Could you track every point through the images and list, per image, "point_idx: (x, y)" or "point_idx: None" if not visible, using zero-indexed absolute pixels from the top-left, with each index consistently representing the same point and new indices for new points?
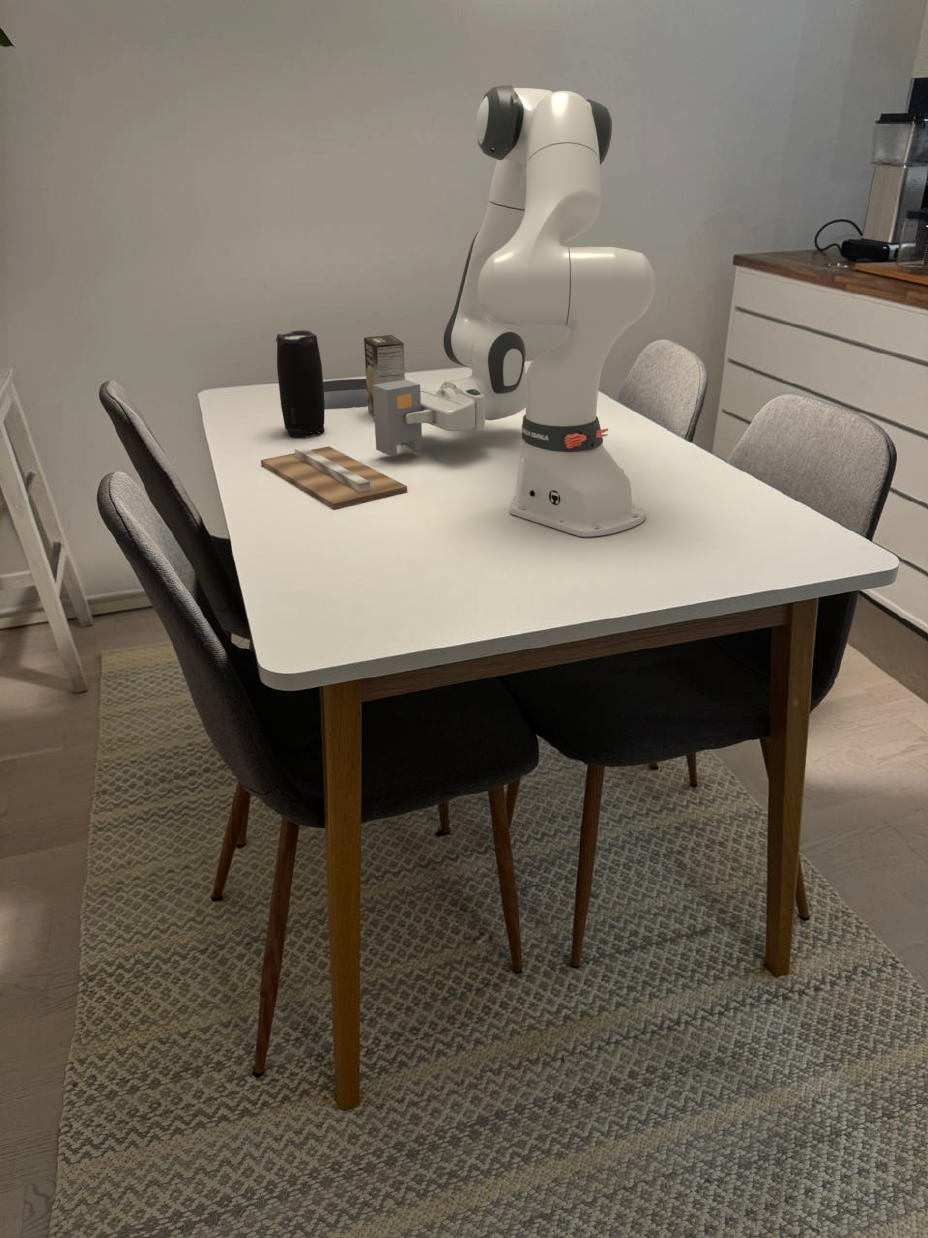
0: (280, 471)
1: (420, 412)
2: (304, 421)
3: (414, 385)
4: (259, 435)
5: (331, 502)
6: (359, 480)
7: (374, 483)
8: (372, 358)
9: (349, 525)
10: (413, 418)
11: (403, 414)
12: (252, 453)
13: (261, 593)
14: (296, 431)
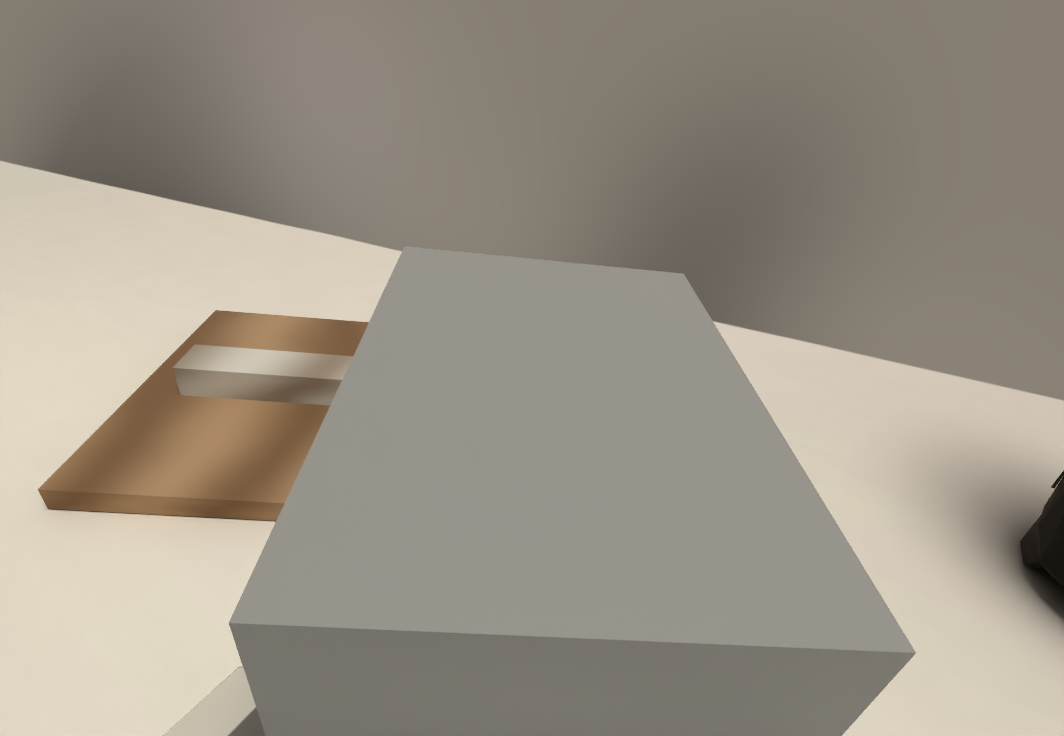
0: None
1: (187, 720)
2: (1062, 505)
3: (291, 494)
4: (1054, 466)
5: (229, 311)
6: (219, 357)
7: (214, 431)
8: None
9: (99, 305)
10: None
11: None
12: (817, 386)
13: (83, 185)
14: (1037, 520)
